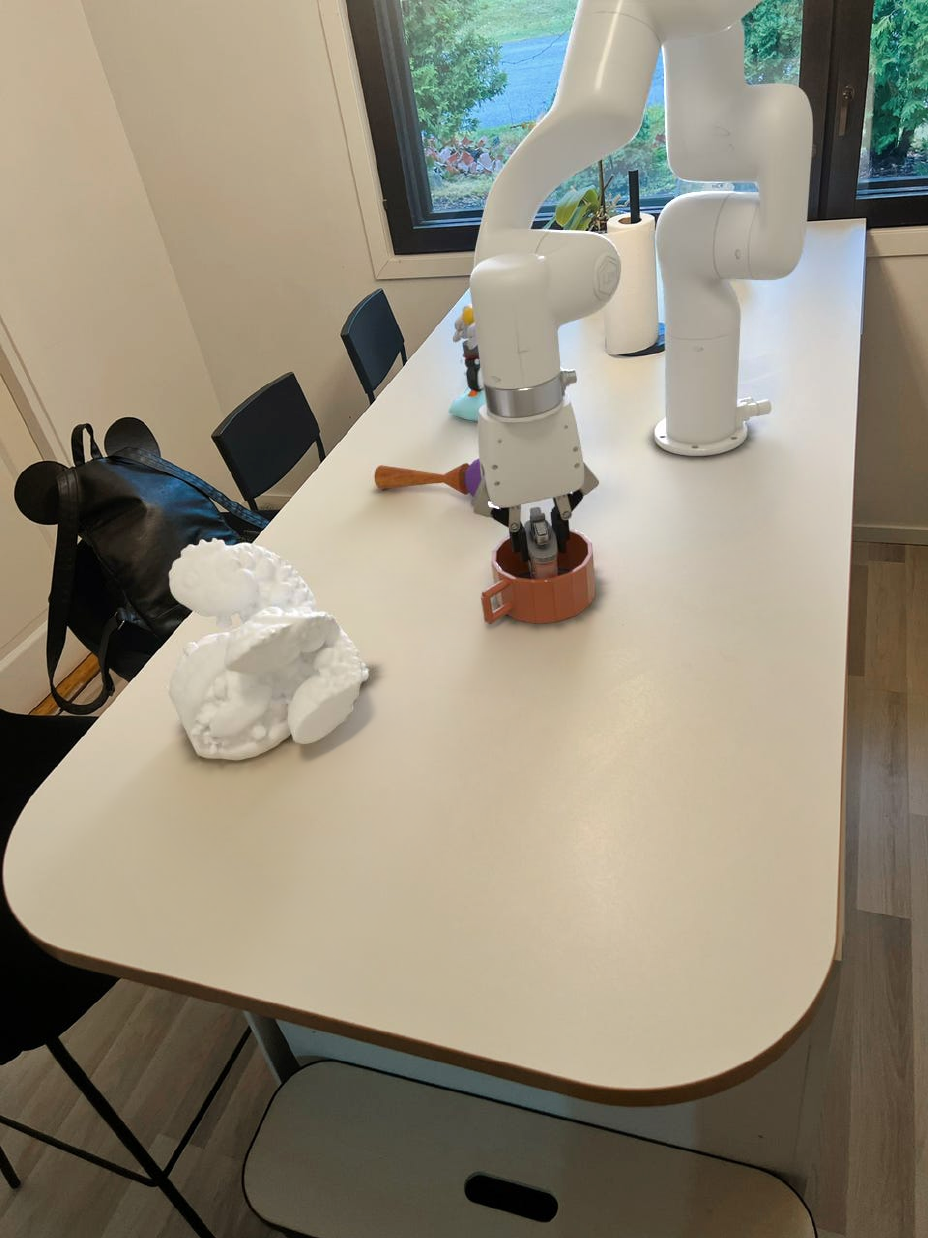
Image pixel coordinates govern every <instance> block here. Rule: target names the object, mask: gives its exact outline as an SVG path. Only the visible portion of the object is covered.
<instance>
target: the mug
mask: <svg viewBox="0 0 928 1238" xmlns="http://www.w3.org/2000/svg"><path fill="white" fill-rule="evenodd" d="M569 530H570V540H569V541H566V549H567V552H566V553H560V552H559V550H558V548H557V568H558V569H562V570H568V571H569V572H567V573H563V574H559V575H558V576H557V577H553V578H548V579H535V580H530V578H524V577H519V576H521V575H522V574H527V573H528V572H529V573H530V570H529V567H528V564H527V562H522V560H521V557H520V555H519V553H518V552H517V553H513V551H512V547H511V542H510V535H507V536H506V537H504V538H503V539H501V540H500V541H499V542H498V544H497V545H496V546H495V547H494V549H493V550H492V552H491V568H492V576H493V582H494V584H493V585H491V586H489V587H488V588H486V589H484V590H483V591H482V592H481V595H480V602H481V607H482V613H483V620H484V622H486V623H488V624H489V625H491V624H493V623H495V622H496V621H498V620H499V619H502V618H503V617H504V616H506V615H508V616H509V617H511V618H513V619H515V620H516V621H521V622H525V623H531V624H548V623H549V624H550V623H557V622H561V621H564V620H568V619H570V618H573V617H575V616H578V615H579V614H580V613H581V612H583V611H584V610H586V609H588V608H589V607H590V605H591V604H592V602H593V600H594V599H595V597H596V595H597V593H596V592H597V591H596V579H595V578H596V577H595V565H594V563H595V562H594V552H593V551H594V549H593V543H592V541H591V540H590V539H589V538H588V537H587V536H586V534H584V533H583V532H580V531H578V530H576V529H573V528H571V527H569ZM493 597H496V601H497V604H498V606H499V607H498V608H496V609H495V610H493V607H492V598H493Z"/></svg>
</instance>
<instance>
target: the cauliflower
mask: <svg viewBox="0 0 928 1238" xmlns="http://www.w3.org/2000/svg"><path fill="white" fill-rule="evenodd" d="M168 578H169V582H168V583H169V584H168V585H169V589H170V592H171V595H172V597H173V598H174V599H175V601H177V602H178V603H179V604H180V605H182V606H184V607H186V608H187V609H189V610H190V611H192V612H193V613H195V614H197V615H199V616H201V617H206V618H209V617H215V620H216V626H217V627H218V628H219V629H221V630H229V629H231V628H232V626H233V620H232V619H231V616H232V615H236V614H238V616H239V619H240V621H241V622H242V624H241V625H240V626H239V627H238V628H233V629H232V630H230V631H229V632H224V631H223V632H219V633H213V634H212V633H211V634H207V635H206V636H203V637H201V638H200V639H199V640H197V641H196V642H194V641H193V642H187V643H186V644H185V645H184V647H183V648H182V649H183V650H182V651H183V655H182V656H181V657H180V658H179V660H178V662H177V664H176V667H175V669H174V670H173V672H172V674H171V677H170V680H169V685H167V684H164V687H165V689H166V691H167V692H168V696H169V698H170V700H171V702H172V704H173V706H174V709H175V710H176V713H177V715H178V717H179V719H180V720H179V721H180V722H181V724H182V726H183V728H184V731H185V732H186V734H187V737H188V739H189V741H190V743H191V745H192V747H193V749H194V751H195V753H196V754H197V756H199V757H202V758H205V759H213V760H214V759H218V760H219V759H220V760H221V759H222V760H228V761H230V760H231V761H242V760H246V759H251V758H255V757H257V756H259V755H261V754H263V753H266V752H267V751H269V750H271V749H273V748H275V747H277V746H278V745H280V744H281V743H282V742H283V741H284V740H287V739H288V738H289V737H290V736H291V737H292V740H293V742H294V743H296V744H300V745H309V744H312V743H317V742H318V741H320V740H321V739H323V738H325V737H327V735H329V734H330V733H331V732H333V731H334V730H335V729H336V728H337V727H338V726H339V725H341V724H343V723H344V722H346V721H347V719H348V717H349V715H350V714H351V713H353V712H354V709H355V707H354V705H353V704H354V702H355V700H357V699H358V700H359V698H360V689H361V684H363V682H366V681H367V680H368V679H369V677H370V674H369V672H370V669H369V668H367V666H366V664H365V662H363V660H362V659H361V657H360V650H358V649H357V647H356V646H355V644H354V642H353V641H352V640H351V639H350V637H349V636H348V635H347V633H346V632H345V631H344V630H343V628H342V627H341V626H340V623H339V622H338V621H337V619H336V617H335V615H331V614H329V613H328V612H327V611H318V610H317V603H316V599H315V597H314V594H313V592H312V591H311V589H310V588H309V586H308V585H307V583H306V582H305V580H304V579H303V578H302V577H301V576H300V575H299V572H298V571H297V570H295V569H294V566H293V565H291V564H290V561H289V560H288V559H286V560H282V556H280V555H279V554H275V553H274V552H272V551H269V550H267V549H266V548H265V546H263V547H261V546H260V545H256V544H255V543H250V542H240V543H237V544H234V545H227V544H226V543H225V540H223V539H217V538H215V537H213V538H212V539H211V541H206V540H205V539H200V540H199V542H198V544H197V545H194V544H188V545H187V546H186V547H185V548H183V549H182V550H181V551H180V557H179V558H177V559H175V560H173V562H172V565H171V568H170V570H169V572H168Z"/></svg>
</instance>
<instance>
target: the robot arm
mask: <svg viewBox="0 0 928 1238" xmlns="http://www.w3.org/2000/svg"><path fill="white" fill-rule="evenodd" d="M762 1H763V0H578V1H577V5H576V9H575V13H574V18H573V22H572V26H571V30H570V34H569V39H568V43H567V47H566V50H565V55H564V60H563V64H562V68H561V72H560V75H559V78H558V84H557V88H556V92H555V95H554V99H553V102H552V105H551V106H550V108H549V111H548V112H547V113H546V114H545V116H544V117H542V118H541V120H540V121H538V123H537V124H536V125H534V127H532V129H531V131H529V133H528V134H526V136H525V137H524V138H523V139H522V141H521V142H520V143H519V145H518V146H517V147H516V148H515V149H514V151H513V153H512V154H511V155H510V156H509V158H508V159H507V160H506V162H505V163H504V164H503V166H502V167H501V169H500V171H499V172H498V174H497V175H496V177H495V179H494V181H493V183H492V185H491V187H490V189H489V192H488V195H487V198H486V201H485V205H484V208H483V213H482V218H481V222H480V226H479V230H478V233H477V234H478V235H477V240H476V244H475V249H474V258H473V269H472V271H471V273H470V276H469V292H470V300H471V301H470V302H471V303H472V308H473V316H474V323H475V330H476V337H477V344H478V351H479V358H480V365H481V371H482V378H483V386H484V393H485V400H486V405H483V406H482V407H481V408H480V409H479V414H478V421H477V442H478V443H477V445H478V459H479V460H480V470H481V478H482V480H481V482H480V484H479V487H478V489H477V491H476V493H475V496H474V497H472V500H471V502H470V507H471V509H472V512H473V514H475V515H478V516H482V517H486V518H491V519H493V520H494V521H495V522H497V523H499V524H501V525H502V526H504V527H506V528H508V534H509V535H508V536H510V542H511V547H512V551H513V553H517V552H518V553H519V555H520V557H521V560H522V562H527V561H528V560H529V554H528V545H527V537H526V531H525V529H524V524H523V523H522V521H521V516H522V515H521V513H522V505H526V504H531V503H535V502H541V501H544V500H548V499H552V502H553V507H552V508H551V509H550V510H551V511H550V512H549V515H550V525H551V526H552V529H553V530H554V532H555V535H556V540H557V548H558V550H559V552H560V553H566V552H567V549H566V541H569V540H570V530H569V528H570V519H571V518H573V517H572V516H573V512H574V510H576V508H577V507H578V505H580V504H581V502H582V501H583V499H584V497H585V496H587V495H589V494H591V492H593V490H595V489H596V488H597V487H598V486H599V485H600V480H599V479H598V478H597V476H596V474H595V473H594V472H593V471H592V469H590V467H589V466H588V465H587V464H586V462H585V461H584V457H583V451H582V446H581V440H580V434H579V429H578V424H577V423H578V422H577V420H576V419H577V418H576V415H575V412H574V411H575V410H574V408H573V405H572V401H571V399H570V397H569V394H568V393H567V392H566V391H567V387H570V385H573V384H576V383H578V378H577V376H578V375H577V373H576V372H577V371H576V370H575V369H574V368H573V369H563V368H562V367H561V366H562V365H561V355H560V345H559V344H560V343H559V329H560V327H562V326H563V325H566V324H569V323H572V322H575V321H578V320H581V319H584V318H587V317H589V316H592V315H594V314H596V313H597V312H599V311H600V310H602V309H603V308H604V307H605V306H606V305H607V304H608V303H609V302H610V300H611V299H612V298H613V296H614V294H616V291H617V289H618V287H619V284H620V280H621V274H622V265H621V264H622V261H621V258H620V254H619V251H618V249H617V248H616V246H615V244H614V243H613V242H612V241H611V240H610V239H609V238H607V237H606V236H604V235H602V234H599V233H596V232H592V231H585V230H558V229H538V228H537V229H532V226H533V222H534V221H535V218H536V216H537V214H538V212H539V210H540V209H541V207H542V206H543V204H544V202H545V201H547V199H548V198H549V197H550V195H551V194H552V193H554V191H555V190H556V189H557V188H558V187H559V186H561V185H562V184H564V183H565V182H566V181H568V180H569V179H570V178H572V177H573V176H575V175H576V174H579V173H580V172H582V171H584V170H585V169H587V168H589V167H591V166H592V165H594V164H596V163H598V162H600V161H602V160H604V159H605V158H606V157H609V156H610V155H612V154H614V153H616V152H617V151H619V150H621V149H623V148H624V147H626V146H627V145H628V144H629V143H630V142H632V141H633V140H634V139H635V138H636V136H637V135H638V133H639V132H640V129H641V127H642V123H643V118H644V115H645V111H646V107H647V103H648V99H649V95H650V92H651V88H652V83H653V79H654V76H655V71H656V68H657V63H658V60H659V56H660V53H661V50H662V58H663V70H664V71H663V73H664V74H663V76H664V112H665V113H664V114H665V117H664V118H665V119H664V121H665V146H666V156H667V164H668V167H669V170H670V172H671V173H672V174H673V176H674V177H675V178H678V179H679V180H681V181H684V182H689V183H690V182H691V183H714V184H715V183H716V184H717V183H753V184H755V186H756V189H757V191H696V192H690V193H686V194H682V195H680V196H677V197H676V198H675V197H674V199H672V200H671V201H669V202H668V203H667V204H666V205H665V206H664V208H663V209H662V210H661V212H660V214H659V216H658V217H657V222H656V225H655V233H654V234H655V235H654V236H655V237H654V239H655V250H656V256H657V261H658V265H659V270H660V275H661V276H660V277H661V281H662V283H661V284H662V290H663V292H662V293H663V303H664V305H663V309H664V310H663V311H664V312H663V313H664V378H665V379H664V381H665V382H664V385H665V387H664V389H665V390H664V392H665V393H664V394H665V395H664V397H665V401H664V402H665V403H664V404H665V418H663V419H662V420H661V421H659V423H658V424H657V425H656V426H655V428H654V441H655V443H656V444H657V445H658V446H659V447H660V449H661V448H662V449H663V450H665V451H667V452H669V453H673V454H675V455H681V456H687V457H706V456H714V455H718V454H722V453H726V452H729V451H731V450H734V449H736V448H738V447H739V446H741V445H742V444H743V443H744V442H745V440H746V439H747V437H748V424H747V422H746V421H749V420H750V418H753V417H759V416H763V415H769V414H771V412H772V404H771V402H770V400H769V399H763V400H759V401H755V400H754V398H753V397H752V396H749V397H744V398H741V399H738V389H739V369H740V368H739V367H740V366H739V365H740V342H741V322H742V320H741V318H742V313H741V312H742V310H741V304H740V300H739V297H738V294H737V292H736V290H735V289H734V286H733V285H732V283H731V281H730V280H745V281H746V280H747V281H776V280H780V279H783V278H786V277H788V276H789V275H791V273H793V272H794V271H795V269H796V268H797V267H798V264H799V263H800V261H801V258H802V255H803V251H804V247H805V242H806V235H807V226H808V225H807V223H808V214H809V213H808V212H809V211H808V210H809V197H810V182H811V170H812V168H811V166H812V153H813V137H814V136H813V134H814V122H813V112H812V111H813V110H812V107H811V103H810V100H809V97H808V96H807V94H806V93H805V91H804V90H803V89H802V88H800V87H799V86H797V85H795V84H792V83H785V82H777V83H776V82H774V83H773V82H772V83H761V84H760V83H759V84H749V83H748V82H747V81H746V78H745V76H746V75H745V41H746V40H745V28H744V25H743V22H742V19H743V18H744V17H745V16H746V15H748V13H749V12H751V11H752V10H753V9H754V8H756V7H757V6H758V5H759V4H760V3H761V2H762ZM489 499H490V501H491V502H488V501H489Z"/></svg>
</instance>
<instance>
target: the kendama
mask: <svg viewBox="0 0 928 1238" xmlns="http://www.w3.org/2000/svg"><path fill="white" fill-rule="evenodd" d="M373 476H374V483H375V485H376V487H377V488H378V489H380V490H385V489H395V488H403V487H404V488H405V487H413V486H414V487H415V486H424V485H434V484H445V485H447V486H448V487H450V488H453V490H456V491H458V492H459V493H461V494H462V495H465V496H466V495H470V496H471V497H472V498H474V496H475V493H476V491H477V489H478V487H479V484H480V482H481V480H482V478H481V470H480V460H479V458H477V459H474V460H473V461H472V463H470V464H469V463H468V462H465V463H463V464H460V465H459V466H457V467H455V468H453V469H451V470H449V471H447V472H445V473H436V472H429V471H423V470H416V469H409V468H403V467H396V466H389V465H382V464H381V465H378V466H377V467H376V469H375V470H374V475H373ZM488 502H491V501H490V499H489V501H488Z"/></svg>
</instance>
